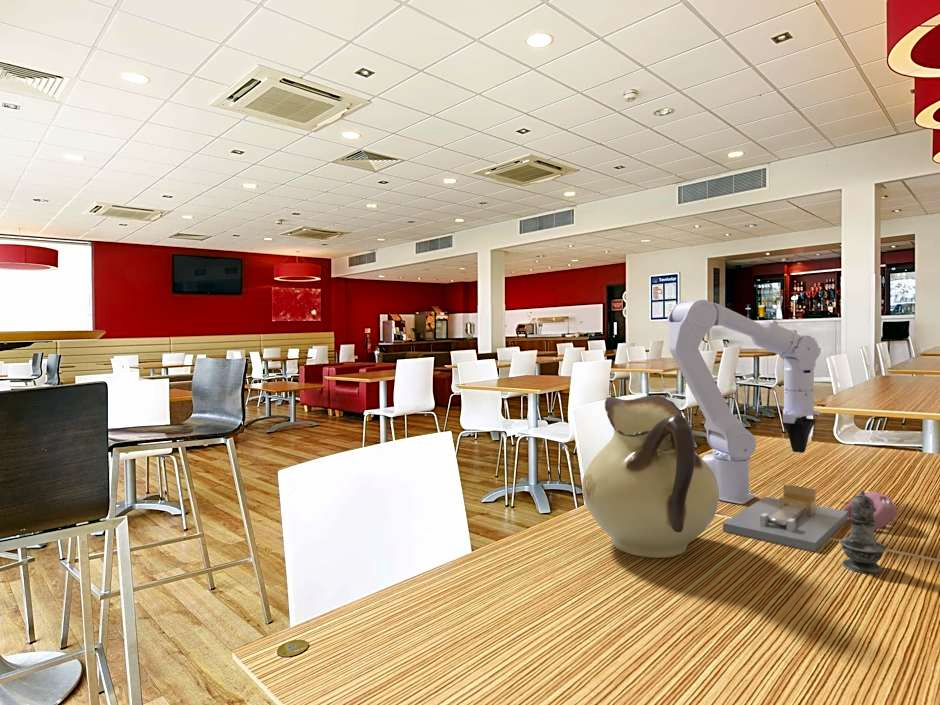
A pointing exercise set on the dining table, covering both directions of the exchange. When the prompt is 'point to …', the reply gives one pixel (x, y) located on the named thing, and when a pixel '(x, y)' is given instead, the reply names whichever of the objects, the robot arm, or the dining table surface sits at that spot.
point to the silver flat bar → (786, 514)
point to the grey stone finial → (862, 538)
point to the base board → (796, 533)
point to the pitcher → (650, 480)
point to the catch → (799, 498)
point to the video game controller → (879, 509)
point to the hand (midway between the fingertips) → (798, 451)
